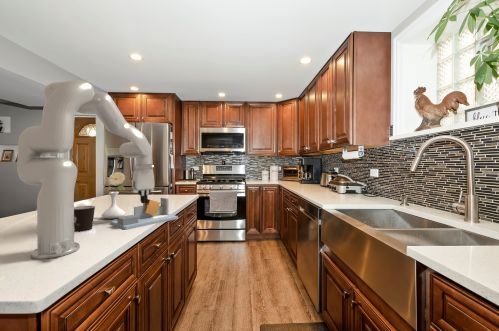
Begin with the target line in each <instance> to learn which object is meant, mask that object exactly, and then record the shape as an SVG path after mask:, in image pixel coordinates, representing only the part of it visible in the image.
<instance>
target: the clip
mask: <svg viewBox="0 0 499 331" xmlns="http://www.w3.org/2000/svg"><path fill="white" fill-rule="evenodd" d="M144 205H147V207H146V209H145V212H144V213H147V214H151V215H155V216H156V213H157V210H158V208H159V206H161V201H160V202H159V201H156V200H152V199H148V201H147V203H144V204H143V203H142V206H144Z"/></svg>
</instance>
